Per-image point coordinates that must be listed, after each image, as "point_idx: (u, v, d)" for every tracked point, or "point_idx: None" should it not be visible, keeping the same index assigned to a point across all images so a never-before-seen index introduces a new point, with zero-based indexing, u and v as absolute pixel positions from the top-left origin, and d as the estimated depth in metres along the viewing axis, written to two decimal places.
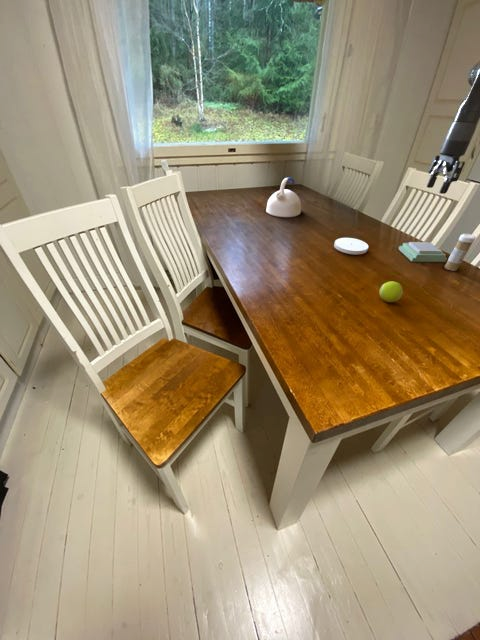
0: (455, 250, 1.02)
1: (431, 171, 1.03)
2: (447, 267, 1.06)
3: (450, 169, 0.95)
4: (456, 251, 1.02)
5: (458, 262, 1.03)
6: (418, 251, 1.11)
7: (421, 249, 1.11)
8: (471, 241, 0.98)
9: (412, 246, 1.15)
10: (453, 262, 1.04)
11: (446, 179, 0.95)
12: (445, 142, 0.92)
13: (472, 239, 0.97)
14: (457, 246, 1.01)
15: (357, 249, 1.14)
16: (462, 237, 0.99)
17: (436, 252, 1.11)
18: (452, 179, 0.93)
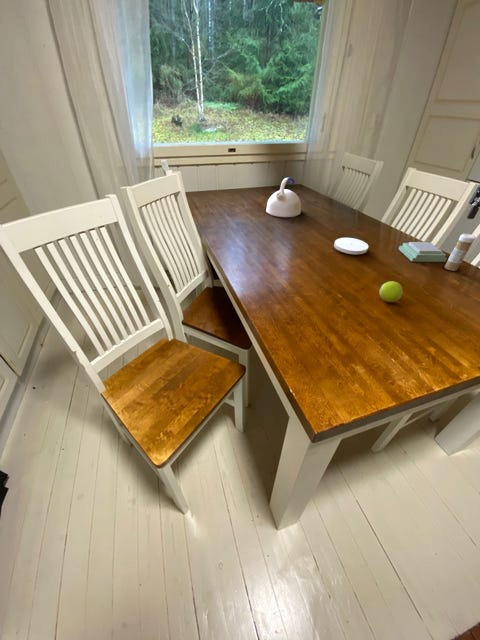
0: (455, 250, 1.02)
1: (473, 202, 0.97)
2: (447, 267, 1.06)
3: None
4: (456, 251, 1.02)
5: (458, 262, 1.03)
6: (418, 251, 1.11)
7: (421, 249, 1.11)
8: (471, 241, 0.98)
9: (412, 246, 1.15)
10: (453, 262, 1.04)
11: None
12: None
13: (472, 239, 0.97)
14: (457, 246, 1.01)
15: (357, 249, 1.14)
16: (462, 237, 0.99)
17: (436, 252, 1.11)
18: None
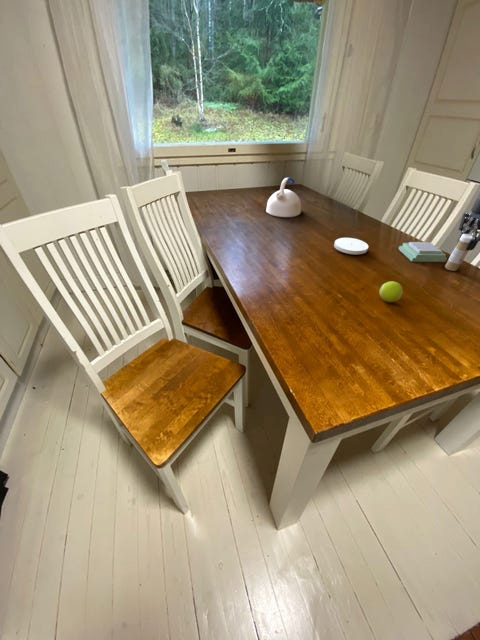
0: (455, 250, 1.02)
1: (462, 228, 1.01)
2: (447, 267, 1.06)
3: None
4: (456, 251, 1.02)
5: (458, 262, 1.03)
6: (418, 251, 1.11)
7: (421, 249, 1.11)
8: None
9: (412, 246, 1.15)
10: (453, 262, 1.04)
11: (474, 238, 0.96)
12: (478, 202, 0.91)
13: None
14: (457, 246, 1.01)
15: (357, 249, 1.14)
16: (462, 237, 0.99)
17: (436, 252, 1.11)
18: None
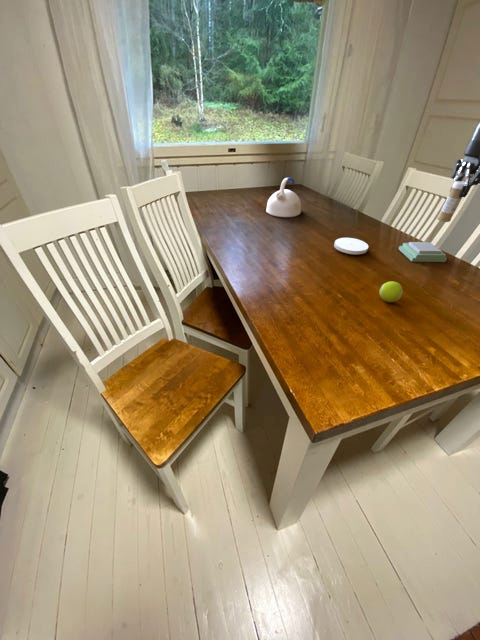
0: (448, 199, 1.00)
1: (455, 176, 0.99)
2: (440, 218, 1.04)
3: (475, 171, 0.91)
4: (449, 200, 0.99)
5: (451, 212, 1.01)
6: (418, 251, 1.11)
7: (421, 249, 1.11)
8: None
9: (412, 246, 1.15)
10: (446, 212, 1.01)
11: (466, 183, 0.93)
12: (470, 143, 0.89)
13: None
14: (450, 194, 0.99)
15: (357, 249, 1.14)
16: (455, 183, 0.96)
17: (436, 252, 1.11)
18: (472, 183, 0.91)
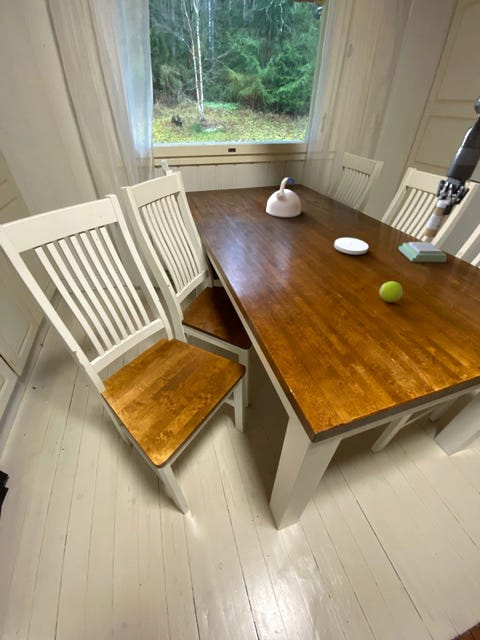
0: (433, 216, 1.06)
1: (439, 194, 1.05)
2: (426, 234, 1.10)
3: (457, 191, 0.98)
4: (434, 217, 1.06)
5: (436, 228, 1.07)
6: (418, 251, 1.11)
7: (421, 249, 1.11)
8: None
9: (412, 246, 1.15)
10: (431, 228, 1.08)
11: (449, 202, 1.00)
12: (452, 166, 0.95)
13: None
14: (435, 212, 1.05)
15: (357, 249, 1.14)
16: (438, 202, 1.03)
17: (436, 252, 1.11)
18: (454, 203, 0.98)
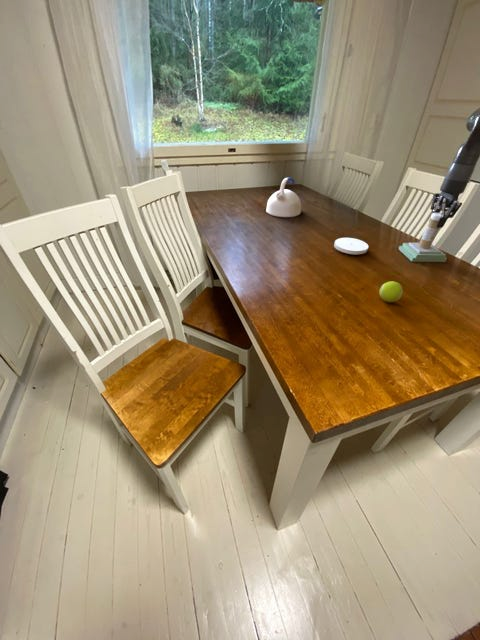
0: (427, 228, 1.09)
1: (433, 207, 1.08)
2: (420, 245, 1.13)
3: (450, 205, 1.01)
4: (428, 229, 1.09)
5: (430, 240, 1.10)
6: (418, 252, 1.11)
7: (421, 250, 1.11)
8: None
9: (412, 247, 1.15)
10: (426, 240, 1.11)
11: (442, 215, 1.03)
12: (445, 181, 0.98)
13: None
14: (429, 224, 1.08)
15: (357, 249, 1.14)
16: (433, 215, 1.06)
17: (436, 253, 1.11)
18: (448, 216, 1.01)
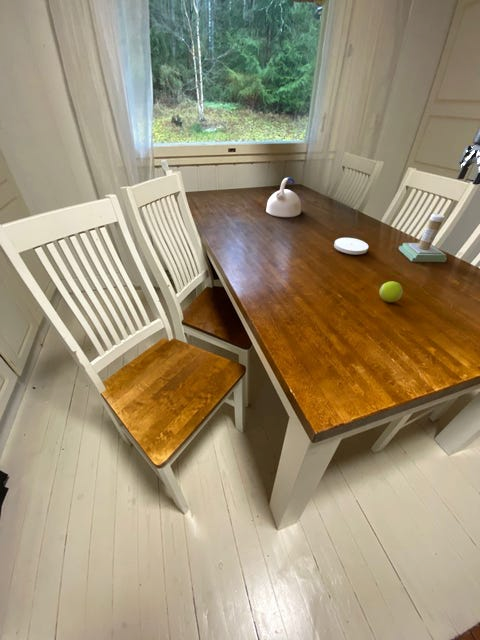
0: (427, 229, 1.09)
1: (462, 162, 1.00)
2: (420, 246, 1.13)
3: None
4: (427, 230, 1.09)
5: (430, 241, 1.10)
6: None
7: (420, 251, 1.12)
8: (440, 220, 1.05)
9: None
10: (425, 241, 1.11)
11: None
12: None
13: (441, 218, 1.04)
14: (428, 225, 1.08)
15: (357, 249, 1.14)
16: (432, 216, 1.06)
17: None
18: None
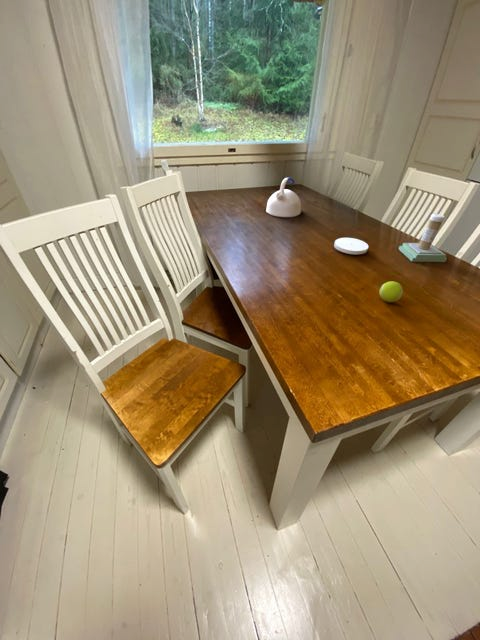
0: (427, 229, 1.09)
1: None
2: (420, 246, 1.13)
3: None
4: (427, 230, 1.09)
5: (430, 241, 1.10)
6: None
7: (420, 251, 1.12)
8: (440, 220, 1.05)
9: None
10: (425, 241, 1.11)
11: None
12: None
13: (441, 218, 1.04)
14: (428, 225, 1.08)
15: (357, 249, 1.14)
16: (432, 216, 1.06)
17: None
18: None
